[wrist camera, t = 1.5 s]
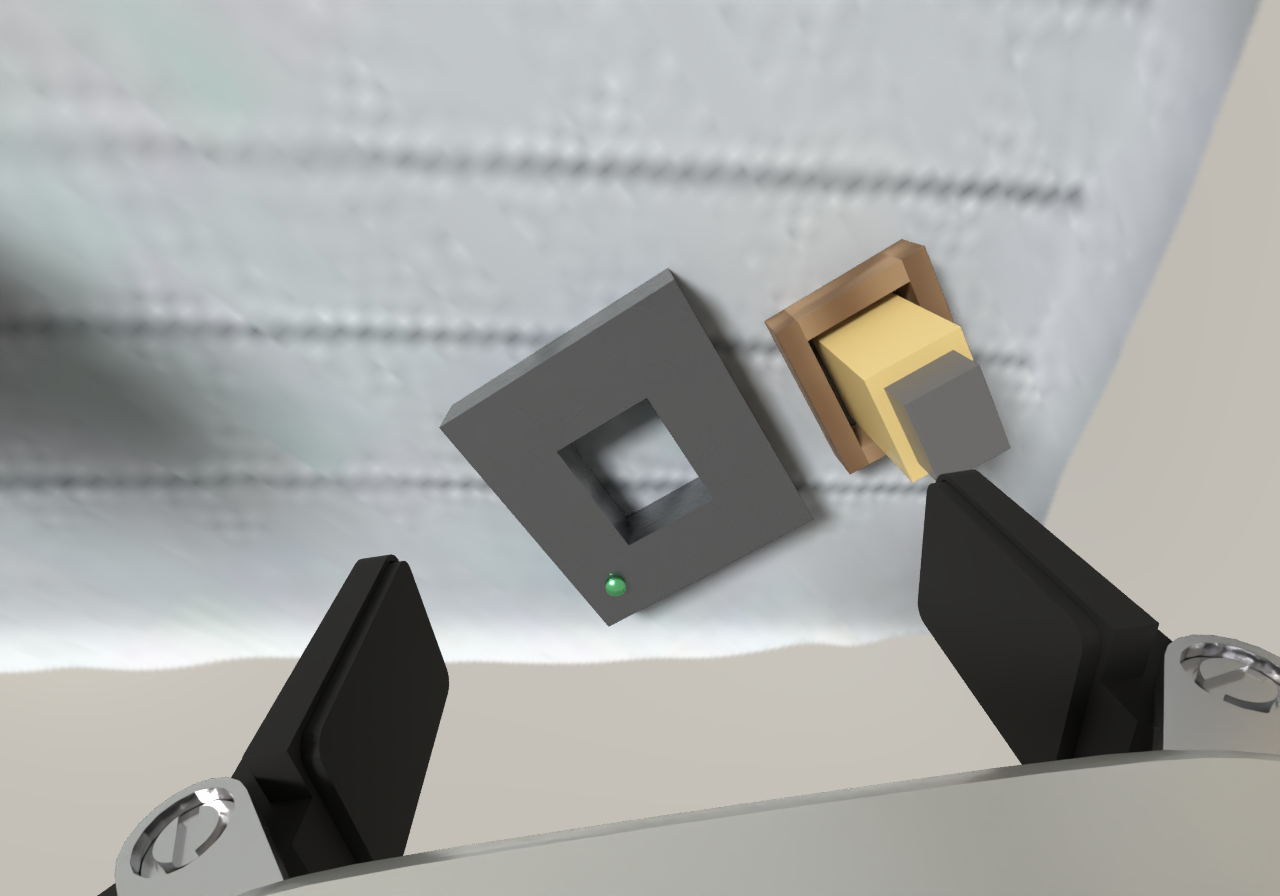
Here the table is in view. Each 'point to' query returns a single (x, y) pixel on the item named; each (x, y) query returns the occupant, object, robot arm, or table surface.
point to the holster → (836, 302)
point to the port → (597, 392)
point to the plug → (913, 387)
